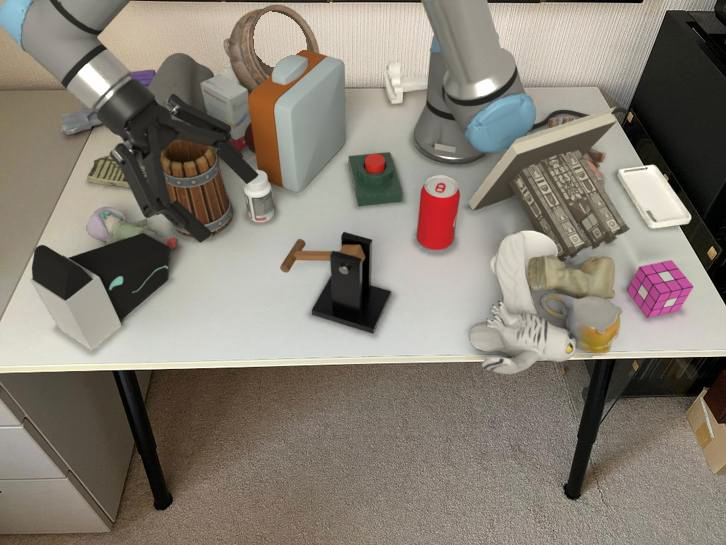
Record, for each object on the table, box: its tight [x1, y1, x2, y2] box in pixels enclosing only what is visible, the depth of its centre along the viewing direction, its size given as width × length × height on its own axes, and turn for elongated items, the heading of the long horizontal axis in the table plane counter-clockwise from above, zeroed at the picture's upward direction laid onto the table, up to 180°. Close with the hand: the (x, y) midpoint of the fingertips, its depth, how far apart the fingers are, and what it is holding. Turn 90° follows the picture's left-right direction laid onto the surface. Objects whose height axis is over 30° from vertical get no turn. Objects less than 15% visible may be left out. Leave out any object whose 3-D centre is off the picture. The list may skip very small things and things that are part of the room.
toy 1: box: [86, 206, 178, 249], centre depth 103 cm, size 11×5×15 cm
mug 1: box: [161, 140, 233, 238], centre depth 105 cm, size 16×11×15 cm
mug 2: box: [539, 291, 623, 355], centre depth 91 cm, size 12×7×7 cm, turn 50°
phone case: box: [616, 164, 692, 230], centre depth 113 cm, size 7×1×15 cm
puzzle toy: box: [627, 259, 694, 319], centre depth 95 cm, size 6×6×6 cm
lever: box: [279, 238, 365, 274], centre depth 90 cm, size 12×6×2 cm, turn 69°
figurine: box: [547, 116, 606, 191], centre depth 119 cm, size 7×5×20 cm
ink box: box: [200, 73, 251, 152], centre depth 121 cm, size 9×5×12 cm, turn 48°
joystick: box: [383, 60, 428, 105], centre depth 134 cm, size 11×8×20 cm
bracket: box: [311, 231, 392, 335], centre depth 91 cm, size 10×8×13 cm
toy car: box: [221, 61, 243, 87], centre depth 135 cm, size 6×12×7 cm, turn 159°
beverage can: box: [416, 174, 461, 251], centre depth 102 cm, size 6×6×12 cm
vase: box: [133, 52, 215, 169], centre depth 121 cm, size 12×12×30 cm
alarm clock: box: [248, 50, 347, 193], centre depth 112 cm, size 18×9×21 cm, turn 152°
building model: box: [467, 106, 631, 263], centre depth 103 cm, size 20×20×18 cm
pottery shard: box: [86, 154, 149, 189], centre depth 115 cm, size 11×16×2 cm, turn 48°
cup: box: [489, 230, 558, 287], centre depth 98 cm, size 8×10×7 cm
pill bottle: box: [243, 169, 276, 223], centre depth 107 cm, size 5×5×8 cm
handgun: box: [59, 69, 157, 136], centre depth 131 cm, size 3×22×15 cm
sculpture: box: [528, 254, 616, 300], centre depth 93 cm, size 6×7×15 cm
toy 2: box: [468, 231, 577, 375], centre depth 88 cm, size 24×13×15 cm
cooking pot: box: [223, 4, 320, 94], centre depth 130 cm, size 25×19×12 cm
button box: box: [348, 151, 404, 207], centre depth 115 cm, size 8×12×4 cm, turn 9°
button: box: [365, 153, 385, 173], centre depth 113 cm, size 4×4×2 cm
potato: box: [245, 122, 256, 155], centre depth 120 cm, size 7×8×7 cm
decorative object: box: [29, 233, 171, 352], centre depth 91 cm, size 8×18×15 cm, turn 147°
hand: (230, 207), depth 90 cm, fingers open, 13 cm apart
